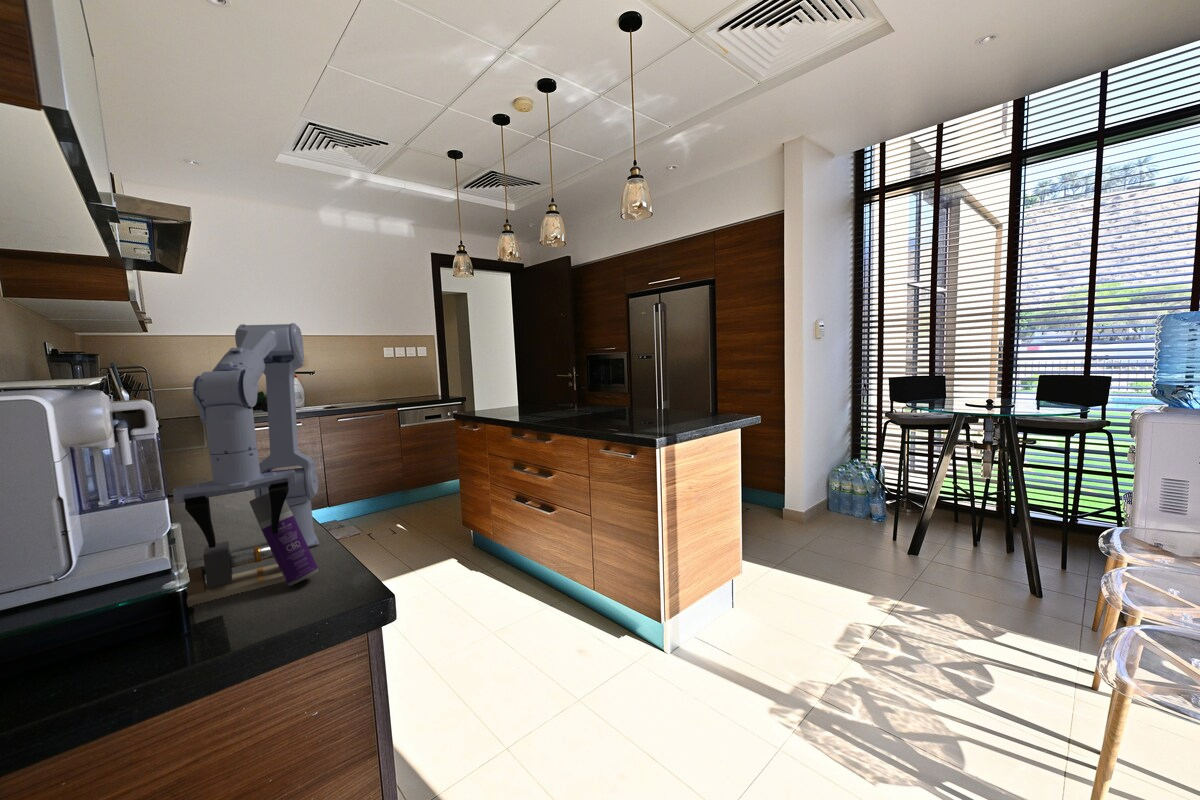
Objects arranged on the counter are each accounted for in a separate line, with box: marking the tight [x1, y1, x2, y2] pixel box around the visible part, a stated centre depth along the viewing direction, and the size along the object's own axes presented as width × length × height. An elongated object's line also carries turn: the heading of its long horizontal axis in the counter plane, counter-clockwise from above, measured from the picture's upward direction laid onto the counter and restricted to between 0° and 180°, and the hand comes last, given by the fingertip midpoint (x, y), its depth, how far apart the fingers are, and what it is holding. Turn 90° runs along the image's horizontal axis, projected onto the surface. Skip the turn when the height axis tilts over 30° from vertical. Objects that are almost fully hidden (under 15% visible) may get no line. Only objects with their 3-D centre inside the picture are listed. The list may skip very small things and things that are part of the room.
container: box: [249, 493, 320, 587], centre depth 78 cm, size 5×5×15 cm
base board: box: [186, 563, 286, 608], centre depth 79 cm, size 7×14×5 cm, turn 127°
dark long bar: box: [188, 544, 275, 576], centre depth 79 cm, size 3×13×3 cm, turn 127°
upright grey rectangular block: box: [202, 540, 233, 588], centre depth 77 cm, size 5×3×5 cm, turn 37°
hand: (244, 538), depth 73 cm, fingers open, 7 cm apart
